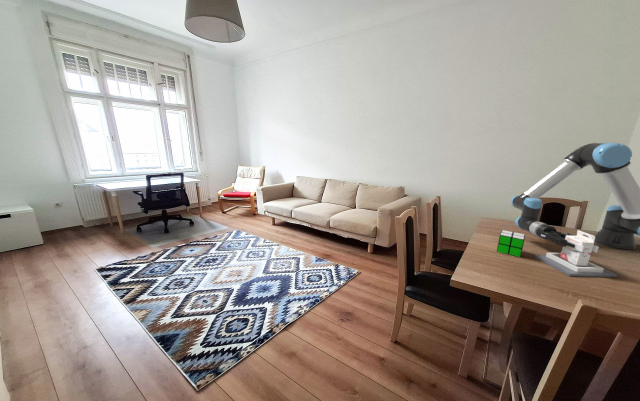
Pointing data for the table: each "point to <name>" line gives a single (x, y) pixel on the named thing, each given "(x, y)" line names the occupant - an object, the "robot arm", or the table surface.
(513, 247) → the puzzle cube
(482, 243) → the table surface
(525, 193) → the robot arm
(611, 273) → the cartridge dock
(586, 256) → the ink cartridge box
